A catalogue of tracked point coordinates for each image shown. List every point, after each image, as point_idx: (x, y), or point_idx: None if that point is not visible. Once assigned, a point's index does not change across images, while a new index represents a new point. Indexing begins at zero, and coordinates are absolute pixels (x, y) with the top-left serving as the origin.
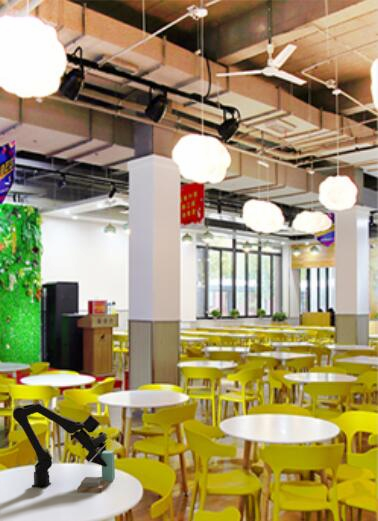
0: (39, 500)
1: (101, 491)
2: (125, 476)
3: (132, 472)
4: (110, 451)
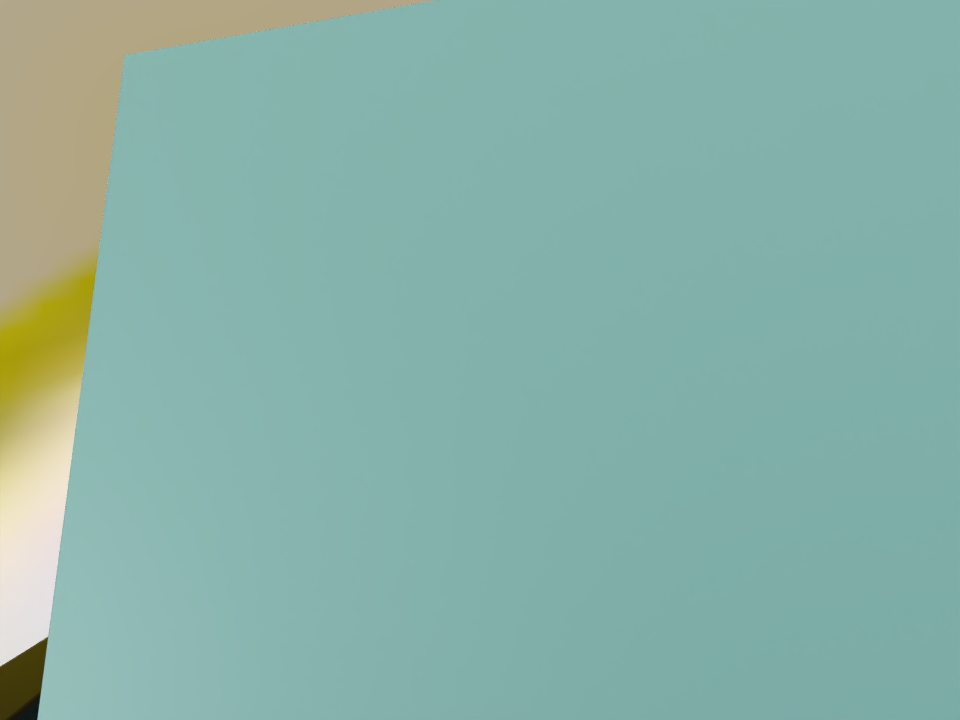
0: None
1: None
2: None
3: (52, 309)
4: (439, 218)
